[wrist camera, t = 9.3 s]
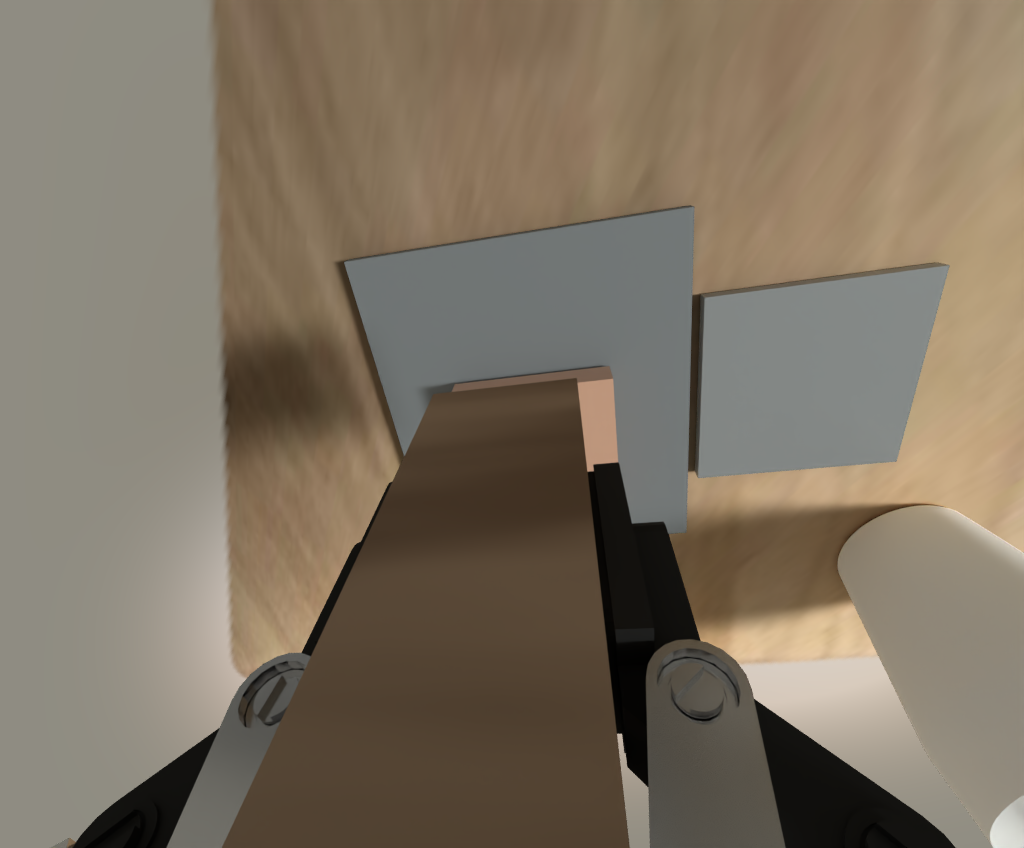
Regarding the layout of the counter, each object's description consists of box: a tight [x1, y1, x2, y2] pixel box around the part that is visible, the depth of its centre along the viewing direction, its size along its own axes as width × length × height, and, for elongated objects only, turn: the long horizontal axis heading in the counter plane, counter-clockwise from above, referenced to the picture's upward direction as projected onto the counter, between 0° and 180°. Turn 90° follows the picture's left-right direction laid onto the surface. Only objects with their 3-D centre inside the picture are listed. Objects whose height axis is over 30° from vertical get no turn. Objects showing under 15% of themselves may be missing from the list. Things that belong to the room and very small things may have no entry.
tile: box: [452, 366, 618, 472], centre depth 23 cm, size 2×7×8 cm
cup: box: [837, 505, 1024, 848], centre depth 20 cm, size 9×9×12 cm
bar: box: [222, 378, 630, 848], centre depth 8 cm, size 5×4×11 cm
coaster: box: [695, 262, 949, 478], centre depth 21 cm, size 9×9×1 cm
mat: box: [344, 206, 694, 534], centre depth 23 cm, size 16×14×1 cm
